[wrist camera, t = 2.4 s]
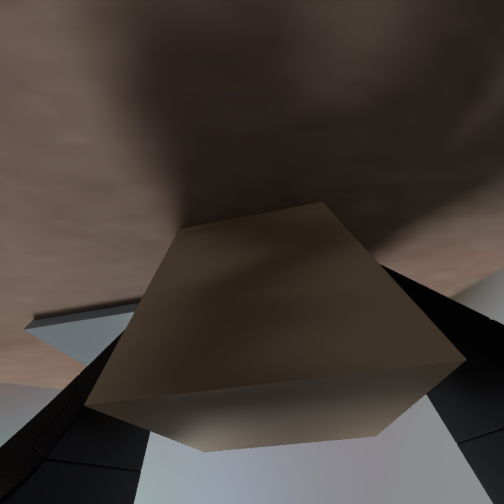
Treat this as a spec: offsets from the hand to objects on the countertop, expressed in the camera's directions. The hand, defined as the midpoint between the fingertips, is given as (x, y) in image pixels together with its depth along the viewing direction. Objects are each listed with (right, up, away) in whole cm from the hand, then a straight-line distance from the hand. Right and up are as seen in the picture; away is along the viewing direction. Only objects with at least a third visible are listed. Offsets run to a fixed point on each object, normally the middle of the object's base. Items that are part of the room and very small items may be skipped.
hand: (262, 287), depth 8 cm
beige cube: (0, +1, +1) cm, 1 cm away
